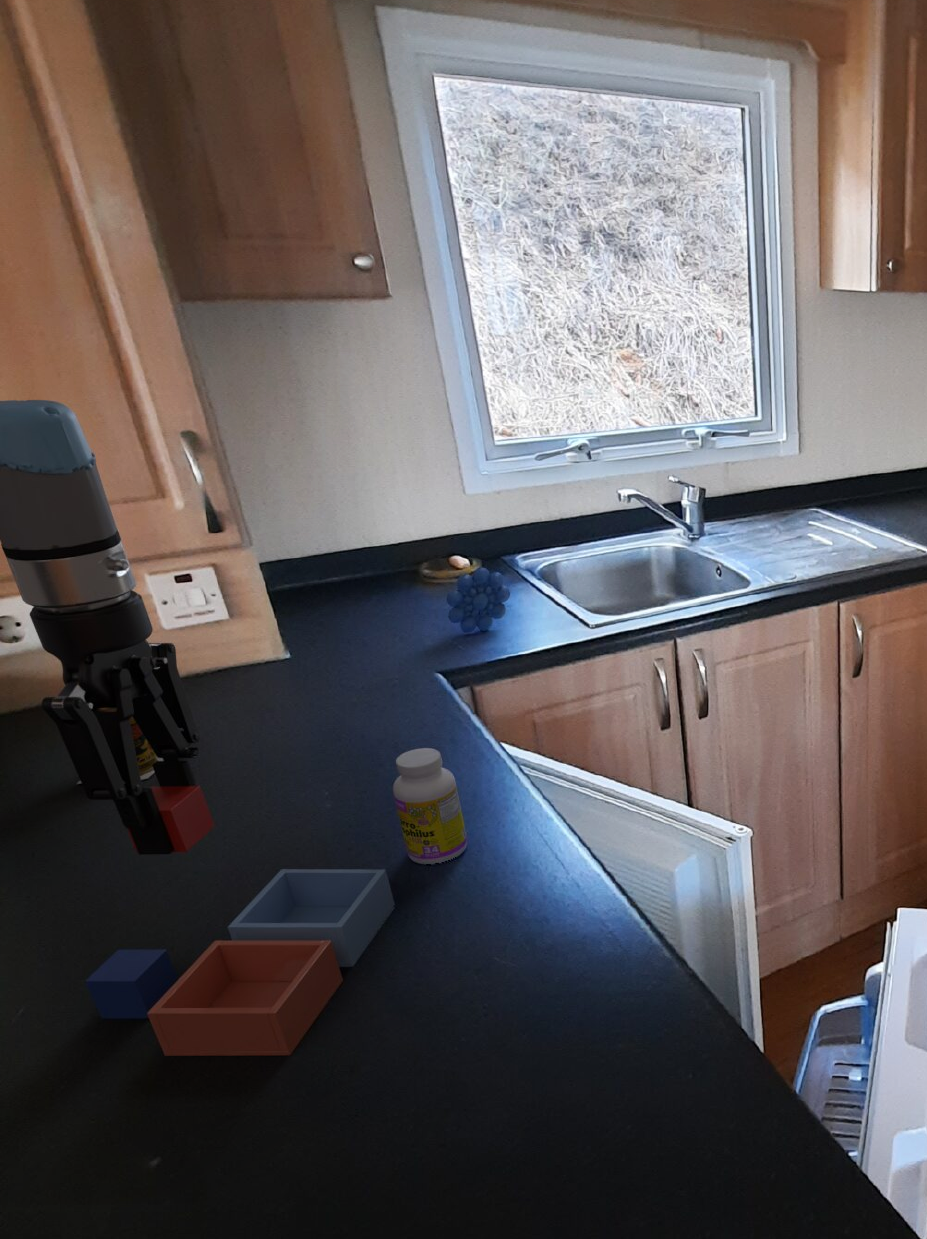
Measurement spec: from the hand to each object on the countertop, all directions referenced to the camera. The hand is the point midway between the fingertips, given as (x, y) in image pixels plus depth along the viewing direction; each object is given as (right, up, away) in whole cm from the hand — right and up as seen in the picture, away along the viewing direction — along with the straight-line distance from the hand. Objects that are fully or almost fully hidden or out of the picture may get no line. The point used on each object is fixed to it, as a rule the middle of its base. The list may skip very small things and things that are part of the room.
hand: (174, 836), depth 91 cm
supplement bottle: (+13, -5, +25) cm, 29 cm away
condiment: (-37, +5, +42) cm, 56 cm away
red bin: (+8, -17, 0) cm, 19 cm away
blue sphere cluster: (-10, +30, +93) cm, 98 cm away
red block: (0, 0, 0) cm, 0 cm away
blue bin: (+8, -12, +11) cm, 18 cm away
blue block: (-4, -16, +2) cm, 17 cm away
